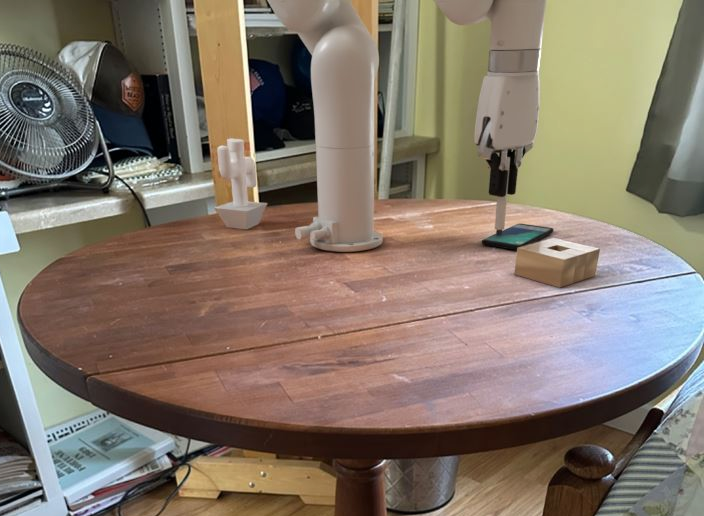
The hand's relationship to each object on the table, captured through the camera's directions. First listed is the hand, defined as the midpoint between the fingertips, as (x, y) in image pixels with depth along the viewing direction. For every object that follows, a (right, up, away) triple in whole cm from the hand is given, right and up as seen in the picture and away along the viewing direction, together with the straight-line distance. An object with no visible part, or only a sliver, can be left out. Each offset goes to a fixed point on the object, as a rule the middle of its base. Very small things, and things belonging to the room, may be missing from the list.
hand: (501, 193), depth 114 cm
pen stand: (+6, -16, -10) cm, 20 cm away
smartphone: (+5, -5, +8) cm, 10 cm away
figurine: (-45, +2, +19) cm, 49 cm away
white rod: (0, -5, +3) cm, 7 cm away
